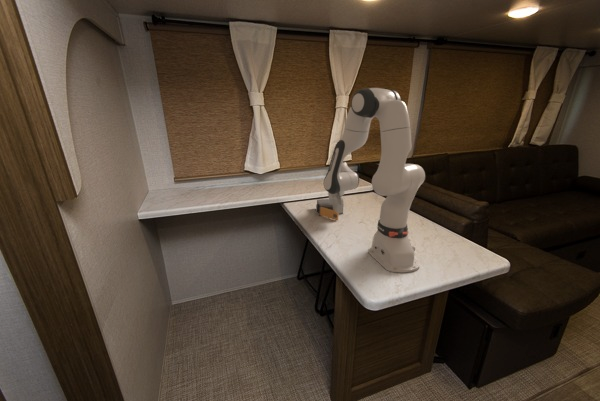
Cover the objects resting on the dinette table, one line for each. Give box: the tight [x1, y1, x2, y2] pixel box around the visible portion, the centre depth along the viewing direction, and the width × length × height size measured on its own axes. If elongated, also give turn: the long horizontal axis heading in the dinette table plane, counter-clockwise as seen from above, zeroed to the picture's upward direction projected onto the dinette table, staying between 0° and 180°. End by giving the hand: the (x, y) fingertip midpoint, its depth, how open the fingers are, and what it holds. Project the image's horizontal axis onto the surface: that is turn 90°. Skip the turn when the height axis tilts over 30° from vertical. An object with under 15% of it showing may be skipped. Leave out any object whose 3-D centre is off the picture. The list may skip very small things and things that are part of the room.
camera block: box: [315, 198, 345, 215], centre depth 155 cm, size 10×15×7 cm, turn 97°
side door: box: [318, 207, 340, 221], centre depth 146 cm, size 2×12×5 cm, turn 51°
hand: (334, 212), depth 145 cm, fingers closed, pressing on side door
